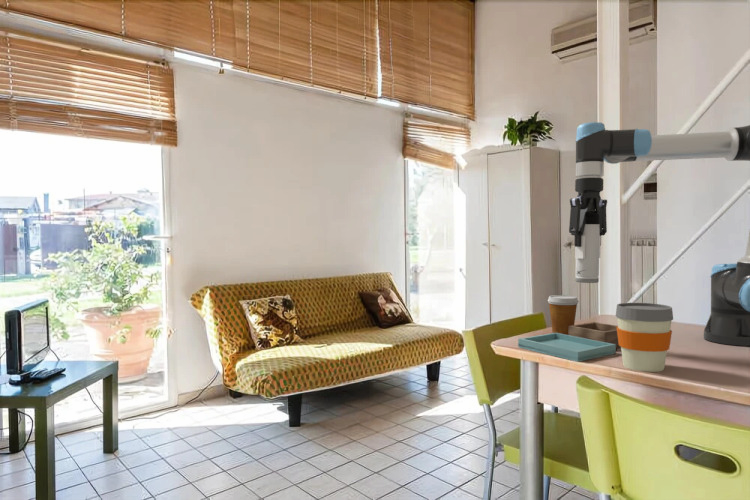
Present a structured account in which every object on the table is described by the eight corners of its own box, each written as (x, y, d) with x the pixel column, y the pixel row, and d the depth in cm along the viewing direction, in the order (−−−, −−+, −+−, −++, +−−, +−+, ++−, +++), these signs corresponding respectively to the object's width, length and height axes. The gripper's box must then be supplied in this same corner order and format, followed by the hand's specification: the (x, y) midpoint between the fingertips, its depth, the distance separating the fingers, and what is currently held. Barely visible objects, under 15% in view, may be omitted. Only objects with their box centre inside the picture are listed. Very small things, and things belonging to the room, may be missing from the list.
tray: (615, 353, 141) (615, 344, 141) (577, 361, 133) (577, 352, 133) (555, 340, 158) (555, 332, 158) (518, 347, 150) (518, 338, 150)
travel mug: (577, 282, 148) (579, 212, 147) (573, 280, 154) (574, 213, 154) (601, 283, 147) (602, 212, 146) (595, 281, 153) (597, 213, 152)
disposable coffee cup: (580, 336, 164) (581, 298, 163) (549, 335, 165) (549, 298, 165) (575, 331, 173) (575, 295, 172) (545, 330, 175) (545, 294, 174)
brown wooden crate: (630, 344, 152) (630, 327, 151) (604, 350, 145) (604, 332, 145) (593, 337, 162) (593, 321, 162) (568, 342, 155) (568, 326, 155)
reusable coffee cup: (677, 375, 119) (678, 311, 119) (617, 371, 124) (617, 308, 123) (667, 362, 131) (668, 303, 131) (613, 359, 135) (613, 301, 135)
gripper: (599, 180, 157) (597, 256, 158) (555, 177, 148) (554, 258, 149) (621, 178, 151) (620, 257, 152) (578, 174, 141) (576, 259, 142)
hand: (587, 257), depth 150 cm, fingers closed on travel mug, 6 cm apart
